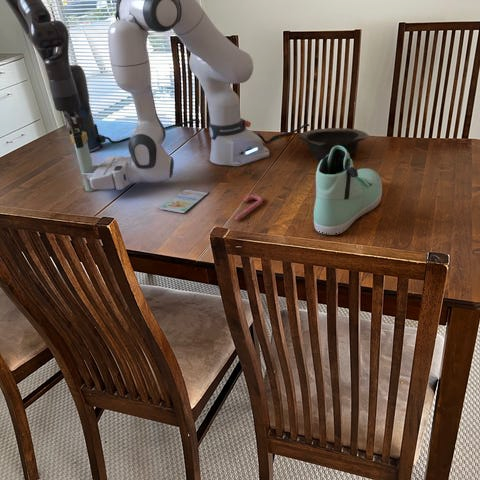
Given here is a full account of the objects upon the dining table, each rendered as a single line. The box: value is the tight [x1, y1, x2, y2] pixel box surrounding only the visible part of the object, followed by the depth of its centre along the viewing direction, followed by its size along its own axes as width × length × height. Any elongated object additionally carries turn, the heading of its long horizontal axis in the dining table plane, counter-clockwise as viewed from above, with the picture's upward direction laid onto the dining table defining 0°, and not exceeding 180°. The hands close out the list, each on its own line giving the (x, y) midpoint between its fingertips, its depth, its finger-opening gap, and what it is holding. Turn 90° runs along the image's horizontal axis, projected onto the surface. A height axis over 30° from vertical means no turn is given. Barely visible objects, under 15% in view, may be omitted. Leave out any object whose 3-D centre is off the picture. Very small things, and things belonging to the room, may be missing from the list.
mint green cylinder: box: [73, 141, 98, 192], centre depth 159 cm, size 4×4×18 cm
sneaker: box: [313, 146, 383, 236], centre depth 133 cm, size 14×35×20 cm, turn 152°
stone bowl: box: [298, 127, 370, 162], centre depth 173 cm, size 25×25×9 cm
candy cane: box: [234, 194, 264, 222], centre depth 143 cm, size 6×15×2 cm, turn 145°
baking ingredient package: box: [158, 188, 208, 214], centre depth 150 cm, size 9×1×15 cm
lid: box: [69, 132, 88, 144], centre depth 154 cm, size 5×5×2 cm
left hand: (77, 143), depth 155 cm, fingers open, 7 cm apart
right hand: (85, 172), depth 161 cm, fingers closed on mint green cylinder, 4 cm apart
